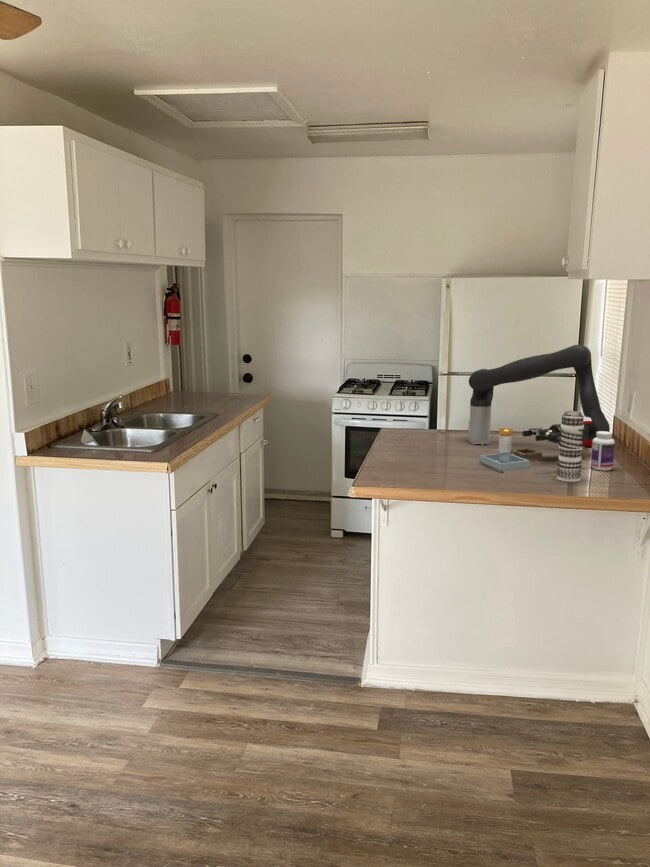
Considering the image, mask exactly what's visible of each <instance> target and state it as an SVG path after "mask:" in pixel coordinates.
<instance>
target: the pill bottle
mask: <svg viewBox="0 0 650 867" xmlns="http://www.w3.org/2000/svg"><path fill="white" fill-rule="evenodd" d="M612 433H613V432H611V431H610V432H607V431H598V432H596V436H597V437H596V438H594V439H593V441H592V447H591V458H590V459H591V460H590V467H591V469H593V470H595V471H604V472H606V471H607V472H609V471H610V470H612V469H613V468H614V457H615V446H616V444H615V439H613V438H612V435H613V434H612Z"/></svg>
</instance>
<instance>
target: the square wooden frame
mask: <svg viewBox="0 0 650 867" xmlns="http://www.w3.org/2000/svg"><path fill="white" fill-rule="evenodd" d="M511 454H513V455H515V456H518V457H521V458H523V459H526V460H528V461H530V462H536V461H537V462H538V461H542V460H543V452H541V451H538V450H535V449H532V448H530V447H525V448H524V447H523V448H515V449H511Z"/></svg>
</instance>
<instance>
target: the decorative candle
mask: <svg viewBox="0 0 650 867" xmlns="http://www.w3.org/2000/svg"><path fill="white" fill-rule="evenodd" d="M560 416H561V423H560V424H561V427H559V431H560V432H559V435H560V437H559V438H558V439H559V442H558V443H557V444H558V448H559V454H558V459H557V462H558V463H557V464H556V465H557V466H558V467H557V468H556V475H557V476H556V479H557V480H560V481H563V482H572V483H574V482H579V481H581V480H582V479H581V476H582V474H581V473H582V469H581V468H582V463H583V462H582V450H583V448H584V444H583V443H582V441H584V439H583V438H582V437H584V436H585V435H584V434H582V432H584V431H585V429H584V425H583V421H585V420H584V419H585V416H584V414H583V412H581V411H579V410H578V411H577V410H566V411H565V412H564V413H563V414H561V415H560Z"/></svg>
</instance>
